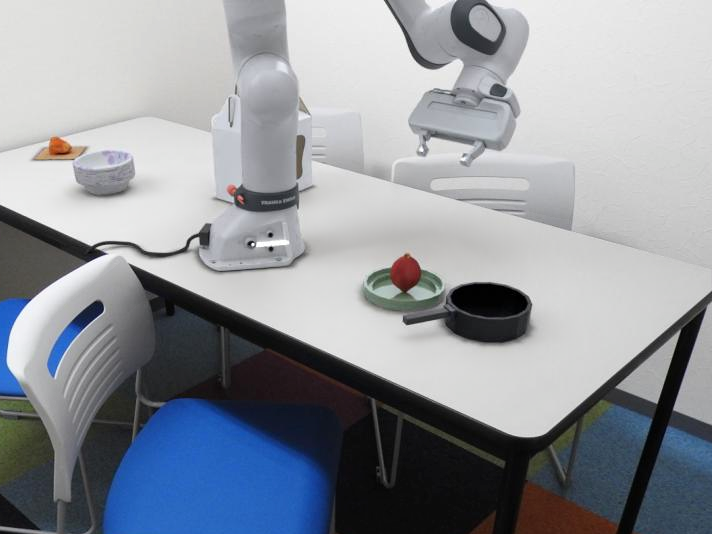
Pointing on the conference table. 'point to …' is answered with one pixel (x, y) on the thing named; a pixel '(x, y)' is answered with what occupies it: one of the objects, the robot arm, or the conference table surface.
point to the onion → (405, 273)
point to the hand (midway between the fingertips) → (441, 159)
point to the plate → (389, 296)
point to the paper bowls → (104, 171)
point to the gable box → (229, 147)
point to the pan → (481, 312)
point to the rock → (59, 150)
